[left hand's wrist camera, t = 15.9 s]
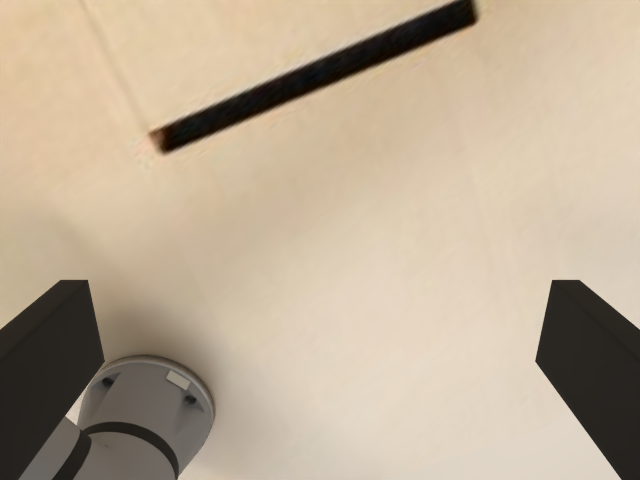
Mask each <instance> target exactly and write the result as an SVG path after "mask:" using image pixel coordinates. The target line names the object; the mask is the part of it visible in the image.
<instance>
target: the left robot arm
mask: <svg viewBox="0 0 640 480" xmlns="http://www.w3.org/2000/svg"><path fill="white" fill-rule="evenodd" d="M104 362H105V360H104V355H103V351H102V346H101V341H100V336H99V331H98V327H97V322H96V317H95V312H94V307H93V303H92V298H91V293H90V288H89V283H88V280H60V281H59V282H58V283H56V284H55V285H54V286H53V287H52V288H50V289H49V290H48V291H47V292H45V293H44V294H43V295H42V296H41V297H39V298H38V299H37V300H36V301H35V302H33V303H32V304H31V305H30V306H28V307H27V308H26V309H25V310H24V311H22V312H21V313H20V314H19V315H18V316H16V317H15V318H14V319H13V320H11V321H10V322H9V323H8V324H7V325H5V326H4V327H3V328H2V329H1V330H0V480H177V479H178V476H179V475H180V474H181V473H182V471H183V470H184V469H185V468H186V466H187V465H188V464H189V463H190V461H191V460H192V459H193V458H194V456H195V455H196V454H197V453H198V451H199V450H200V449H201V447H202V446H203V444H204V443H205V441H206V439H207V437H208V435H209V433H210V429H211V426H212V423H213V419H214V405H213V401H212V398H211V395H210V393H209V391H208V389H207V388H206V386H205V385H204V383H203V382H202V381H201V380H200V379H199V378H198V377H197V376H196V375H195V374H194V373H192V372H191V371H190V370H188V369H187V368H185V367H184V366H182V365H180V364H178V363H176V362H173V361H171V360H168V359H164V358H160V357H155V356H132V357H126V358H122V359H120V360H117V361H115V362H112V363H111V364H109V365H107V366H106V367H105V368H103V369H102V370H101V371H100V372H99V373H98V374H97V376H96V377H95V378H94V380H93V381H92V382H91V384H90V385H89V387H88V389H87V391H86V393H85V395H84V398H83V400H82V404H81V409H80V413H79V418H78V422H77V426H76V425H75V424H74V423H73V422H71V421H70V420H69V419H68V418H67V417H65V415H66V414H67V412H68V411H69V410H70V408H71V407H72V406H73V404H74V403H75V401H76V400H77V399H78V397H79V396H80V395H81V393H82V392H83V390H84V389H85V388H86V386H87V385H88V384H89V382H90V381H91V380H92V378H93V377H94V375H95V374H96V373H97V371H98V370H99V369H100V367H101V366H102V364H103V363H104ZM535 362H536V363H537V364H538V366H539V367H540V369H541V370H542V371H543V373H544V374H545V375H546V377H547V378H548V380H549V381H550V382H551V384H552V385H553V386H554V388H555V389H556V390H557V392H558V393H559V395H560V396H561V397H562V399H563V400H564V401H565V403H566V404H567V406H568V407H569V408H570V410H571V411H572V412H573V414H574V415H575V416H576V418H577V419H578V421H579V422H580V423H581V425H582V426H583V427H584V429H585V430H586V432H587V433H588V434H589V436H590V437H591V438H592V440H593V441H594V443H595V444H596V445H597V447H598V448H599V449H600V451H601V452H602V453H603V455H604V456H605V458H606V459H607V460H608V462H609V463H610V464H611V466H612V467H613V469H614V470H615V471H616V473H617V474H618V475H619V477H620V478H621V480H640V330H639V329H638V328H637V327H636V326H635V325H633V324H632V323H631V322H630V321H629V320H627V319H626V318H625V317H624V316H622V315H621V314H620V313H619V312H618V311H616V310H615V309H614V308H613V307H612V306H610V305H609V304H608V303H607V302H605V301H604V300H603V299H602V298H601V297H599V296H598V295H597V294H596V293H595V292H593V291H592V290H591V289H590V288H588V287H587V286H586V285H585V284H584V283H582V282H581V281H580V280H552V283H551V288H550V293H549V298H548V303H547V307H546V312H545V317H544V322H543V327H542V331H541V336H540V341H539V346H538V351H537V355H536V360H535Z"/></svg>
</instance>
